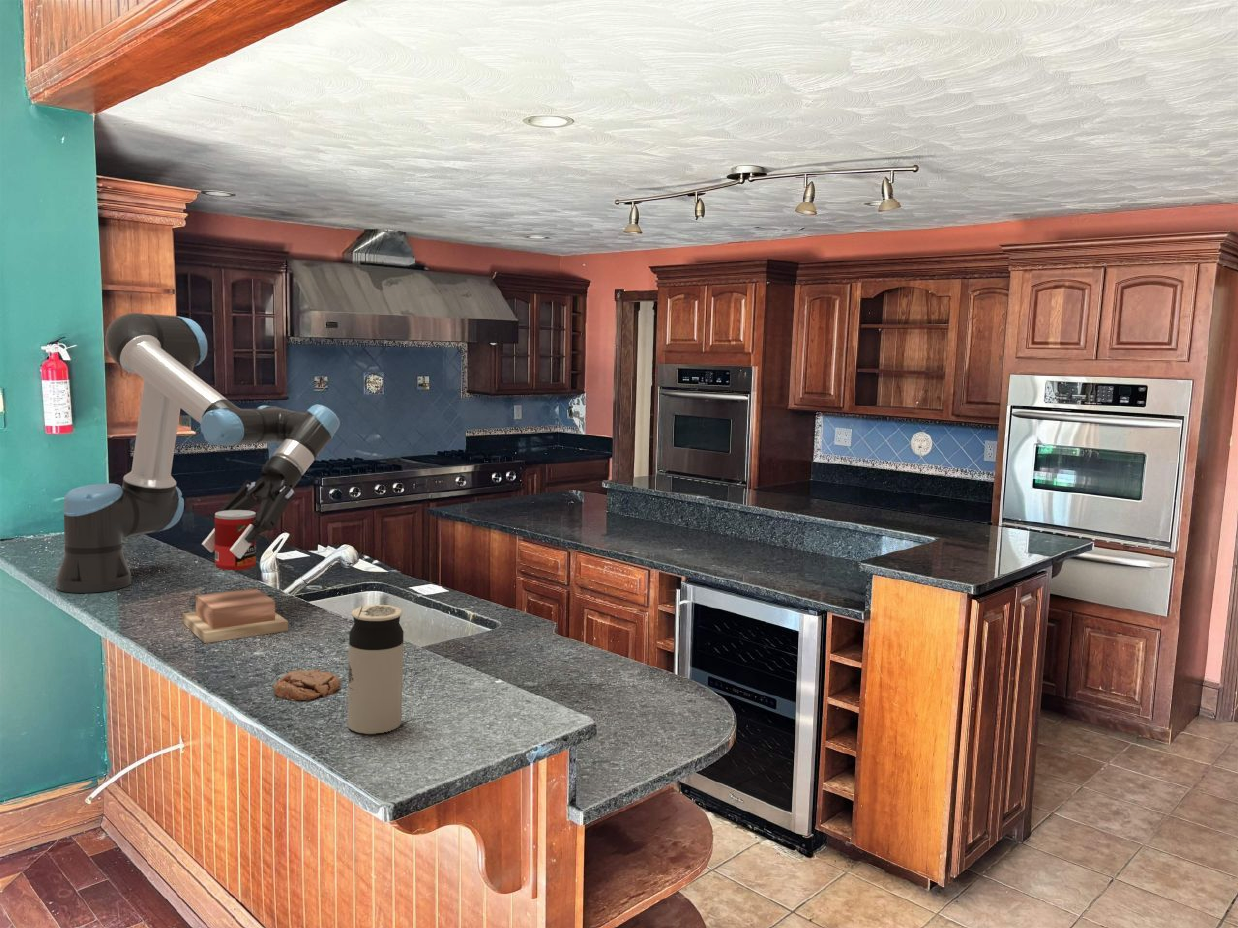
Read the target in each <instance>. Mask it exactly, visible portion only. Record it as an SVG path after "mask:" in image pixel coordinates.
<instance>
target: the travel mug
mask: <svg viewBox="0 0 1238 928" xmlns="http://www.w3.org/2000/svg"><path fill="white" fill-rule="evenodd" d="M350 613H351V614H350V615H351V616H352V618H353V625H352V627H351V629H350V631H349V636H348V641H349V642H348V644H349V645H348V685H347V686H348V693H347V695H348V697H347V727H348V728H349V729H350V730H351V731H353V732H356V733H358V734H362V733H363V734H364V735H377V734H376V733H382V734H385V733H384V732H386V733H389V732H392V731H393V730H396V729H397V728H399V727H400V726H401V725H402V723H403V722H402V718H403V717H402V716H403V713H402V712H403V711H402V709H403V677H404V676H403V675H404V674H403V672H404V671H403V670H404V669H403V668H404V661H403V660H404V633H405V632H404V629H403V627H402V625H401V623H400V620H401V616H402V615H403V610H402V609H401V608H399V607H397V606H392V605H389V604H388V605H387V604H386V605H385V604H373V605H371V604H370V605H363V606H359V607H357V608H354V609H353V610H352V611H351V612H350ZM391 730H392V731H391ZM388 731H389V732H388Z"/></svg>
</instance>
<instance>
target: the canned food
mask: <svg viewBox="0 0 1238 928" xmlns="http://www.w3.org/2000/svg"><path fill="white" fill-rule="evenodd" d="M256 516H257V512H255V511H253V510H248V511H247V510H227V511H220V512H218V511H217V512H215V513H214V527H215V550H214V564H215V567H216V568H217V569H219V570H224V571H241V570H242V571H243V570H248V569H252V568H254V567H256V563H257V539H256V540H255V542H254V543H252V544H251V545H250V547H249V548H248V549H247V551H246V552H245V553H244V555H243V556H242V557H241V559H240V558H237V557H236V556H235V555H234V554H233V553H232V552H231V551H230V549H231V548H232V546H233V545H234V544H235V542H236V541H237V540H238V538H239V537H240V536H241V535H242V533H243V532H244V531H245V529H246V528H247V527H248V526H249V524H252V525H253V526H255V525H254V524H253V523H252V521H254V520H255V519H256Z"/></svg>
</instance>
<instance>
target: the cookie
mask: <svg viewBox="0 0 1238 928" xmlns="http://www.w3.org/2000/svg"><path fill="white" fill-rule="evenodd" d="M340 686H341V681H340V678H338V676H337V675H336V674H334V673H331V672H329V671H322V670H320V669H313V670H292V671H289V672H287V673H286V674H284V675H283V676H281V678H280V679H279V680H277V681H276V682H274V683H273V690H274V695H275V696H276V695H277V696H278V698H279V697H282V698H281V699H284V698H288V699H294V700H293V701H296V700H307V701H311V700H310V699H312V700H315V699H317V697H318V698H321V697H322V696H323V697H322V698H325V697H327V696H332V695H333V694H335V693H336V692H337V691H339V690H340ZM331 694H332V695H331ZM277 696H276V697H277ZM288 699H287V700H288Z"/></svg>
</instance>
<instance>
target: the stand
mask: <svg viewBox="0 0 1238 928" xmlns="http://www.w3.org/2000/svg"><path fill="white" fill-rule="evenodd" d="M182 624H183V625H184V626H186V627H187V628H188V630H190V631H191V632H192V633H193V634H194V635H195V636H196V637H197V638H199V639H200V641H202V642H203V643H204V644H208V643H209V644H210V643H216V642H222V641H229V640H236V639H243V638H248V637H255V636H262V635H263V636H264V635H268V634H270V635H271V634H276V633H282V632H288V631H289V621H288V620H287V619H286V618H285V617H283V616H282V615H280V614H278V613H277V612H276V600H275V599H272V598H271V597H270V596H268V595H267V594H265V593H263V592H262V591H261V590H259V589H258V588H255V587H254V588H249V589H248V588H246V589H238V590H229V591H223V592H212V593H206V594H205V593H204V594H203V593H202V594H197V595H195V611H191V612H183V613H182Z"/></svg>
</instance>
